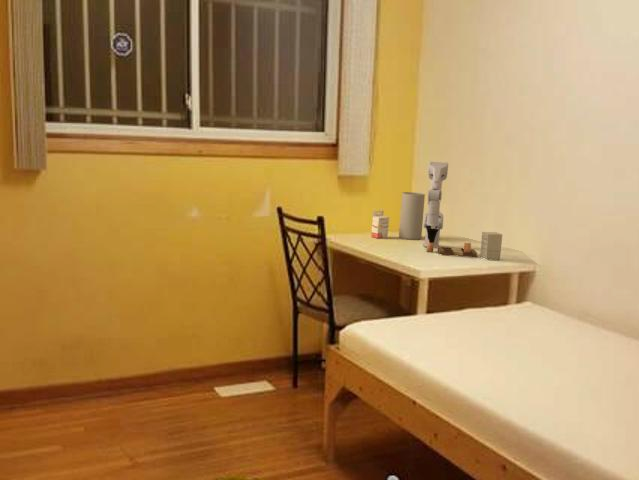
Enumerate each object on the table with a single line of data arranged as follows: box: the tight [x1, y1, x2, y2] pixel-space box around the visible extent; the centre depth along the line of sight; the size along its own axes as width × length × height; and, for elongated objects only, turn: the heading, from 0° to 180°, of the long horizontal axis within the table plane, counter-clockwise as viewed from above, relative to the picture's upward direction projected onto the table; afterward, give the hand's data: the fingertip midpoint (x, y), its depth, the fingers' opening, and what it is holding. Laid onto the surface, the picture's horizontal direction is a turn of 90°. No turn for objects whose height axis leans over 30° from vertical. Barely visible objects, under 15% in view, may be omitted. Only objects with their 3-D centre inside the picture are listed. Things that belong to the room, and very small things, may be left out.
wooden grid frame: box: [436, 246, 478, 258], centre depth 333 cm, size 12×18×2 cm, turn 85°
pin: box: [463, 242, 472, 253], centre depth 330 cm, size 3×3×6 cm
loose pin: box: [426, 239, 434, 253], centre depth 335 cm, size 3×3×6 cm
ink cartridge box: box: [370, 210, 390, 239], centre depth 372 cm, size 9×5×15 cm, turn 133°
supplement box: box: [479, 231, 503, 260], centre depth 325 cm, size 7×7×13 cm
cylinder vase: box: [398, 191, 426, 241], centre depth 376 cm, size 12×12×25 cm
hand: (430, 241), depth 335 cm, fingers open, 7 cm apart
